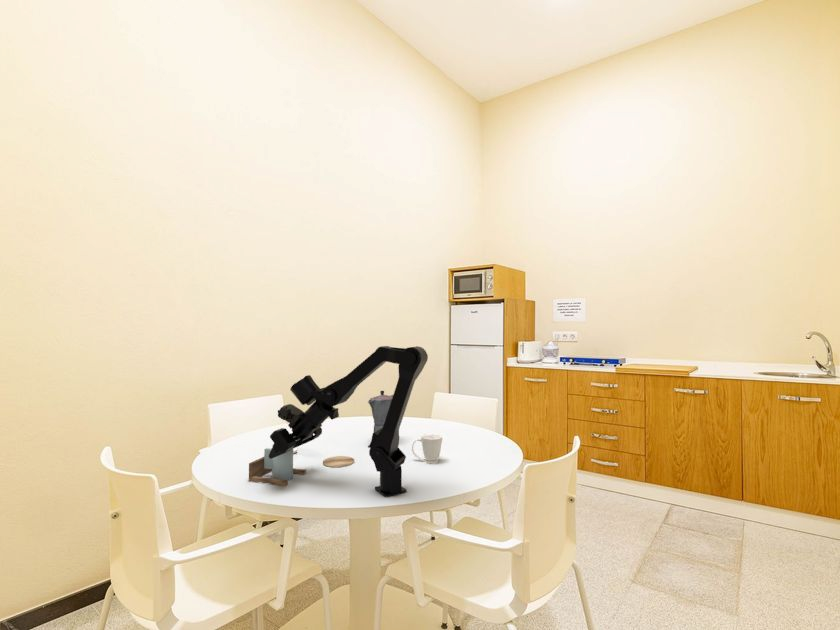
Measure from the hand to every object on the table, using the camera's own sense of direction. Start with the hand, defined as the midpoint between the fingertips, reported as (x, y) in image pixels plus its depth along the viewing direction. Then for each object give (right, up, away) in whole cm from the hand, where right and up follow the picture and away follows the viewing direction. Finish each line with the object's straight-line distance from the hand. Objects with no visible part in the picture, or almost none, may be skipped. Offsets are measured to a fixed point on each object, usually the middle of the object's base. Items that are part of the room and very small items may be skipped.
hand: (279, 452), depth 122 cm
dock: (0, -7, 0) cm, 7 cm away
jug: (0, -7, 0) cm, 7 cm away
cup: (+43, -8, +15) cm, 46 cm away
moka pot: (+28, -9, +36) cm, 46 cm away
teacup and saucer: (-6, -8, +22) cm, 24 cm away
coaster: (+14, -8, +14) cm, 21 cm away
